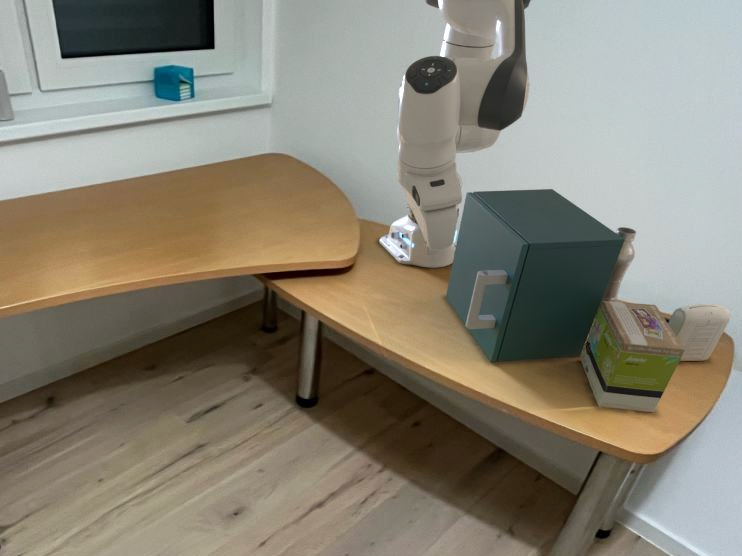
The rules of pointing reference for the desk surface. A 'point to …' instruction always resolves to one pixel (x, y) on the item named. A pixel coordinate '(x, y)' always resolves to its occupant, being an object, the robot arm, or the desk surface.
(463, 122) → the robot arm
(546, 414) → the desk surface
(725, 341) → the desk surface
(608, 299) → the beige vase
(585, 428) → the desk surface
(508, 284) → the fridge door
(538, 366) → the desk surface
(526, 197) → the box
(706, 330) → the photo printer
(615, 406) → the tea box
